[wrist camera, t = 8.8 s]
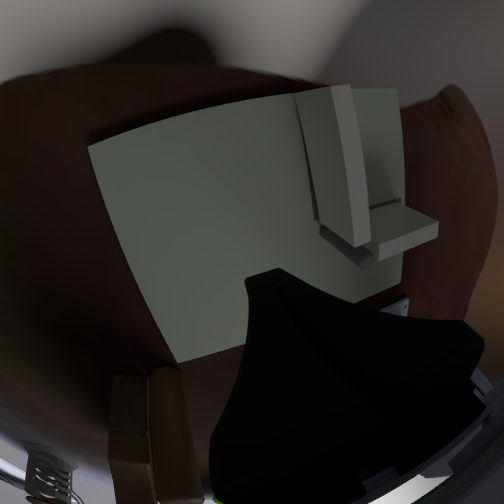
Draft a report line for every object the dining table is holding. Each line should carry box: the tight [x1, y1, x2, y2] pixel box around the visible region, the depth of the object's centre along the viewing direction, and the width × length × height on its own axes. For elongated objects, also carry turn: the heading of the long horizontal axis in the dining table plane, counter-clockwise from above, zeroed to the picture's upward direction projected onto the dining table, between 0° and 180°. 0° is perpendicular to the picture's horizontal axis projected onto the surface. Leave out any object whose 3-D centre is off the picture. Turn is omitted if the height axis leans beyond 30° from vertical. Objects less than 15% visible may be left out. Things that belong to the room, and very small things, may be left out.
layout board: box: [88, 88, 405, 363], centre depth 20 cm, size 18×22×1 cm
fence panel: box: [294, 84, 371, 248], centre depth 16 cm, size 9×1×4 cm, turn 15°
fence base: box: [319, 202, 439, 270], centre depth 19 cm, size 1×8×5 cm, turn 102°
